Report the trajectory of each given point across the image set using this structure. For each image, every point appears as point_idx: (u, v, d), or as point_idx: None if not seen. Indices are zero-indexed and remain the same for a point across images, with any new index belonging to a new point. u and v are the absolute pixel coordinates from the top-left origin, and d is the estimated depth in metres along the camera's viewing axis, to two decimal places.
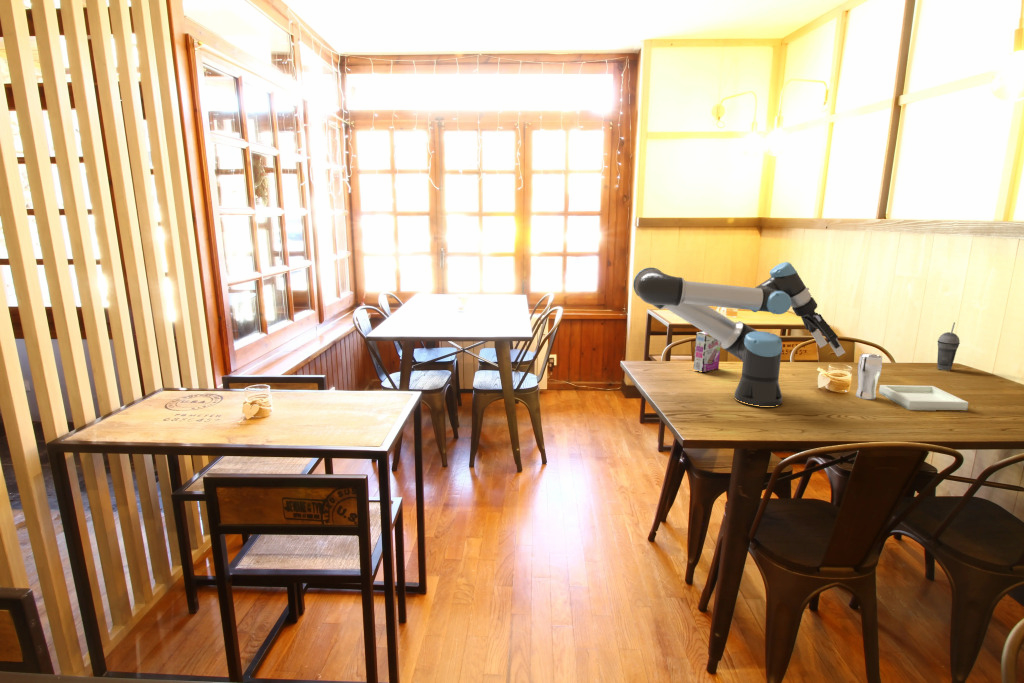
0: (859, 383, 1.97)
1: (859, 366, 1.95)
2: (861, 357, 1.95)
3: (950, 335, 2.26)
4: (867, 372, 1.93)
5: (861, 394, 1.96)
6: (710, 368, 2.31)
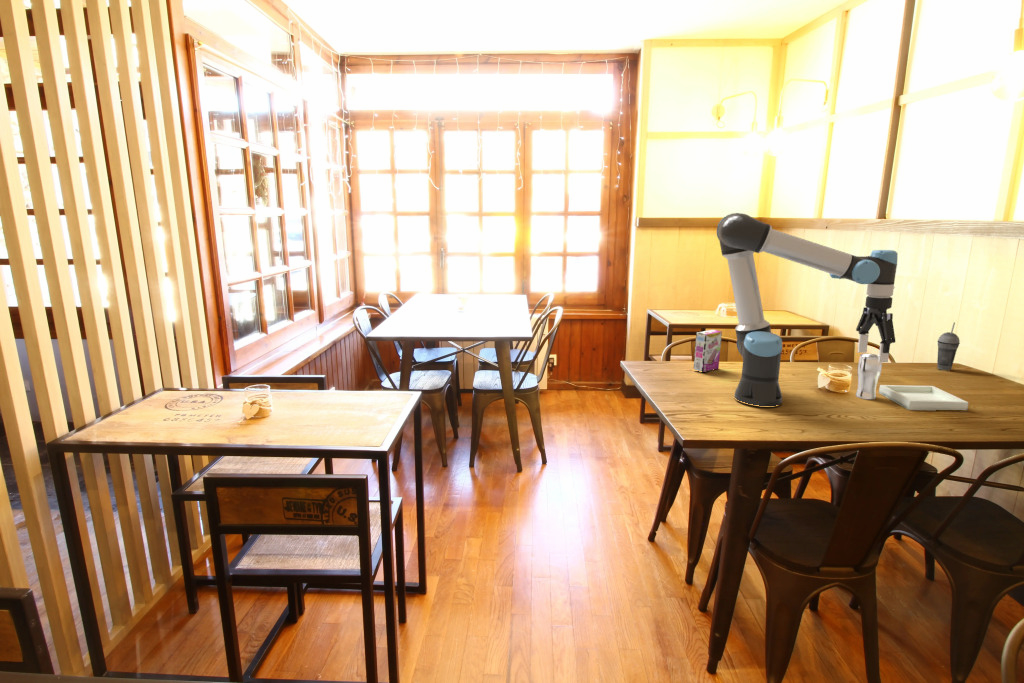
0: (859, 383, 1.97)
1: (859, 366, 1.95)
2: (861, 357, 1.95)
3: (950, 335, 2.26)
4: (867, 372, 1.93)
5: (861, 394, 1.96)
6: (710, 368, 2.31)
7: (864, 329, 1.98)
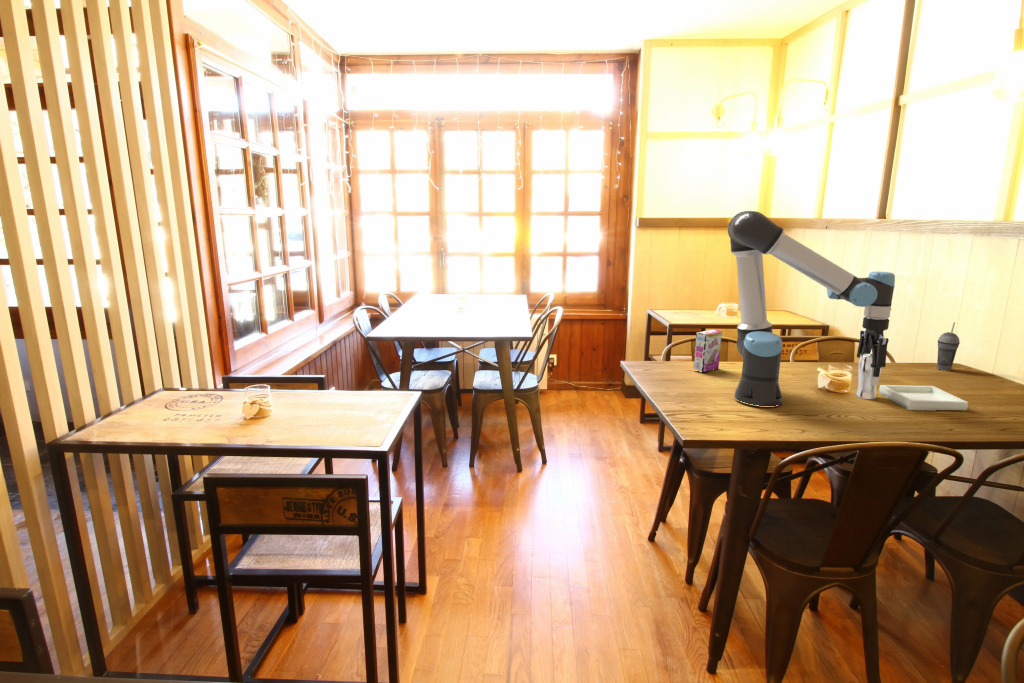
0: (859, 383, 1.97)
1: (859, 366, 1.95)
2: (861, 357, 1.95)
3: (950, 335, 2.26)
4: (867, 372, 1.93)
5: (861, 394, 1.96)
6: (710, 368, 2.31)
7: None
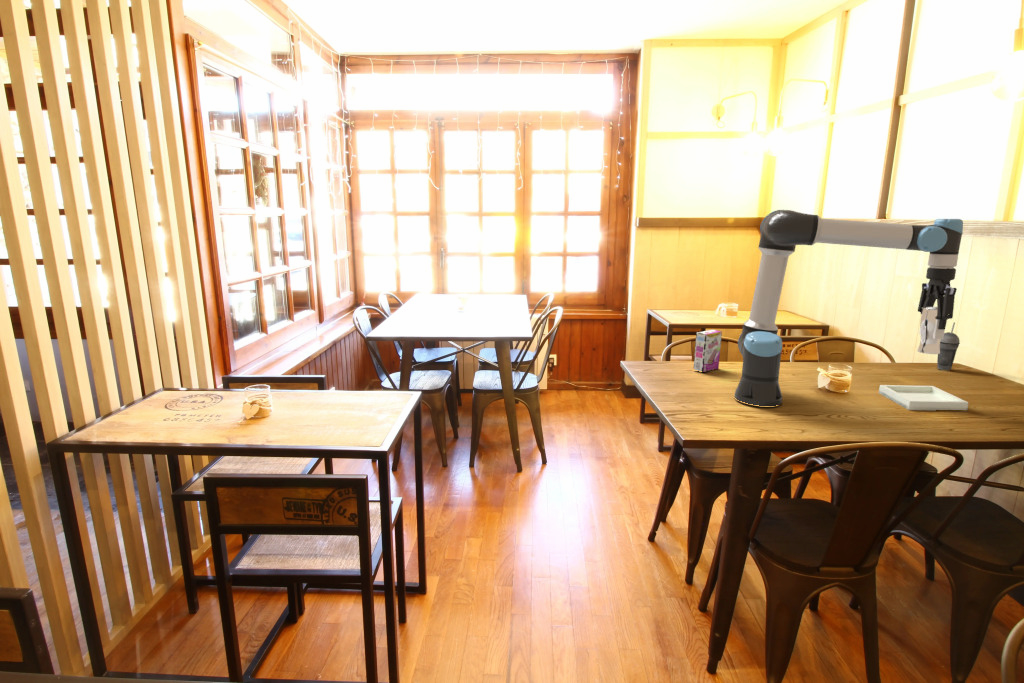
0: (922, 337, 1.88)
1: (922, 319, 1.86)
2: (925, 310, 1.85)
3: (950, 335, 2.26)
4: (932, 325, 1.84)
5: (924, 349, 1.87)
6: (710, 368, 2.31)
7: None
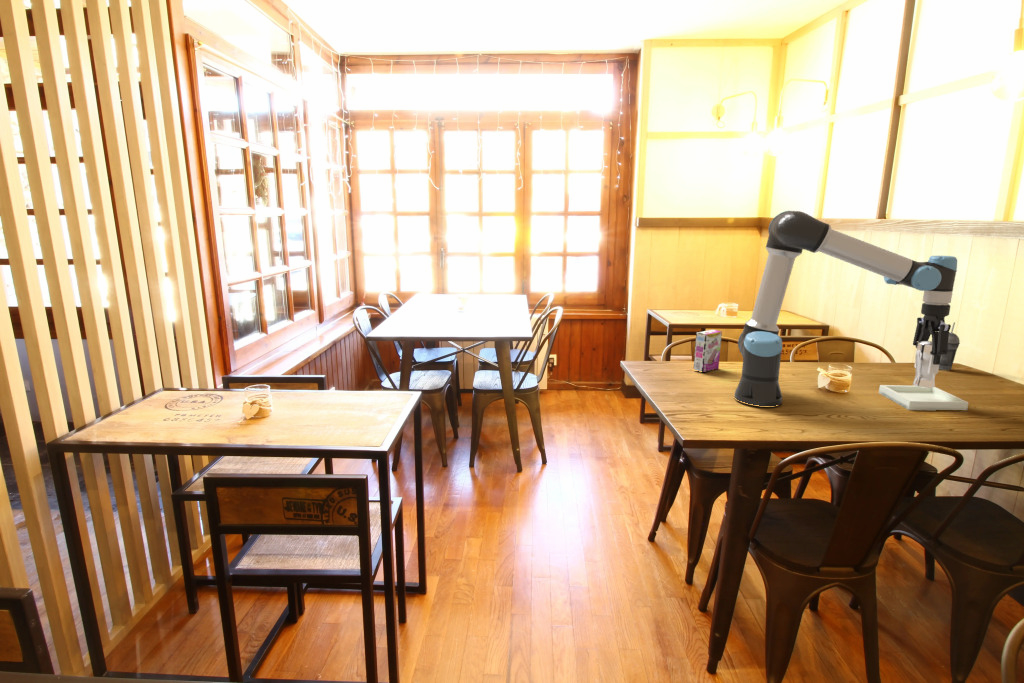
0: (917, 371, 1.90)
1: (917, 354, 1.89)
2: (920, 344, 1.88)
3: (950, 335, 2.26)
4: (926, 360, 1.86)
5: (919, 383, 1.89)
6: (710, 368, 2.31)
7: None
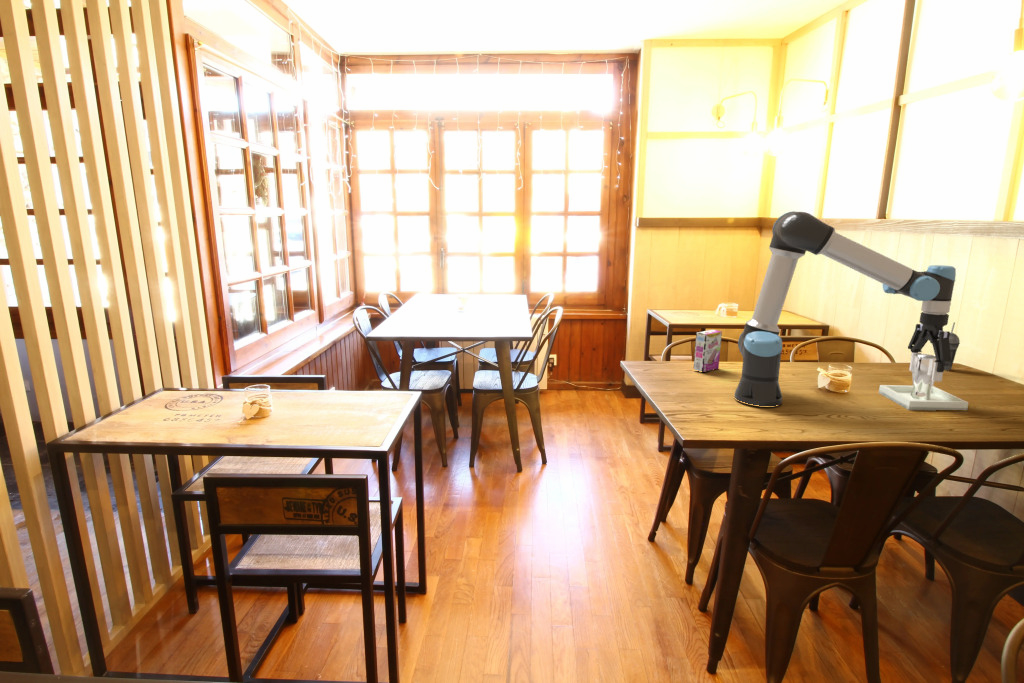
0: (914, 384, 1.91)
1: (914, 367, 1.90)
2: (917, 358, 1.89)
3: (950, 335, 2.26)
4: (923, 373, 1.88)
5: (916, 396, 1.91)
6: (710, 368, 2.31)
7: (917, 347, 1.94)
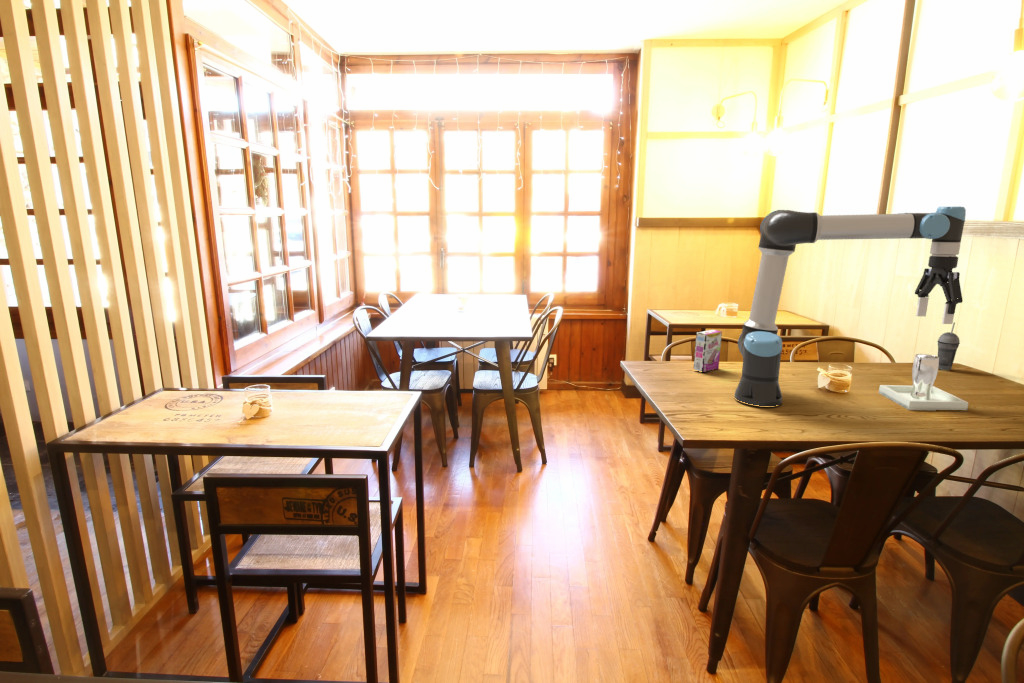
0: (914, 384, 1.91)
1: (914, 367, 1.90)
2: (917, 358, 1.89)
3: (950, 335, 2.26)
4: (923, 373, 1.88)
5: (916, 396, 1.91)
6: (710, 368, 2.31)
7: (924, 291, 1.90)
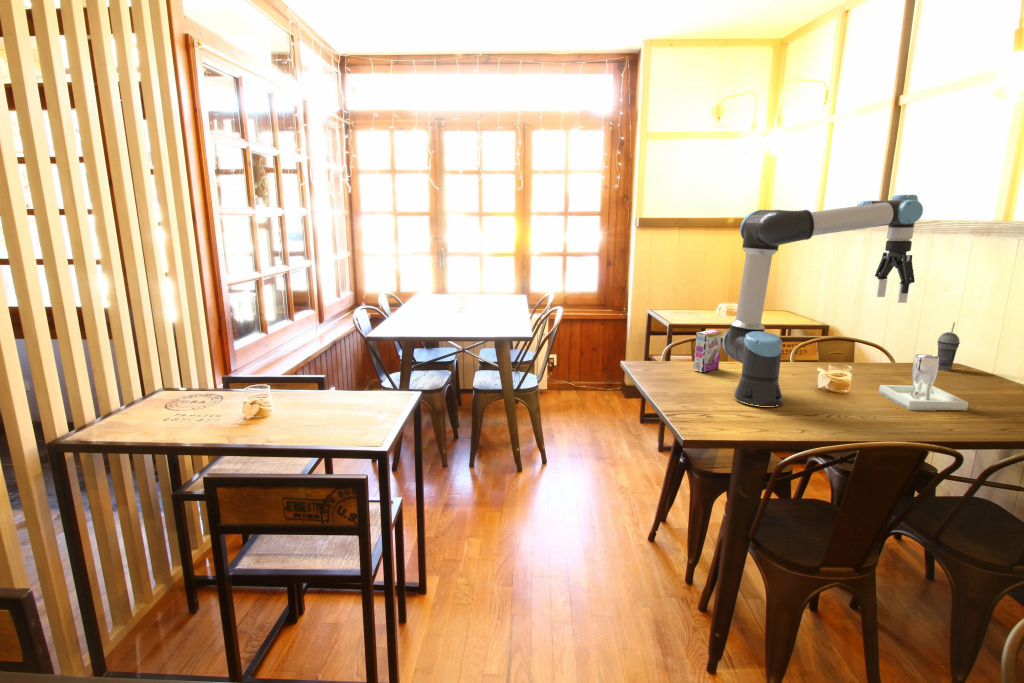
0: (914, 384, 1.91)
1: (914, 367, 1.90)
2: (917, 358, 1.89)
3: (950, 335, 2.26)
4: (923, 373, 1.88)
5: (916, 396, 1.91)
6: (710, 368, 2.31)
7: (883, 274, 2.06)
